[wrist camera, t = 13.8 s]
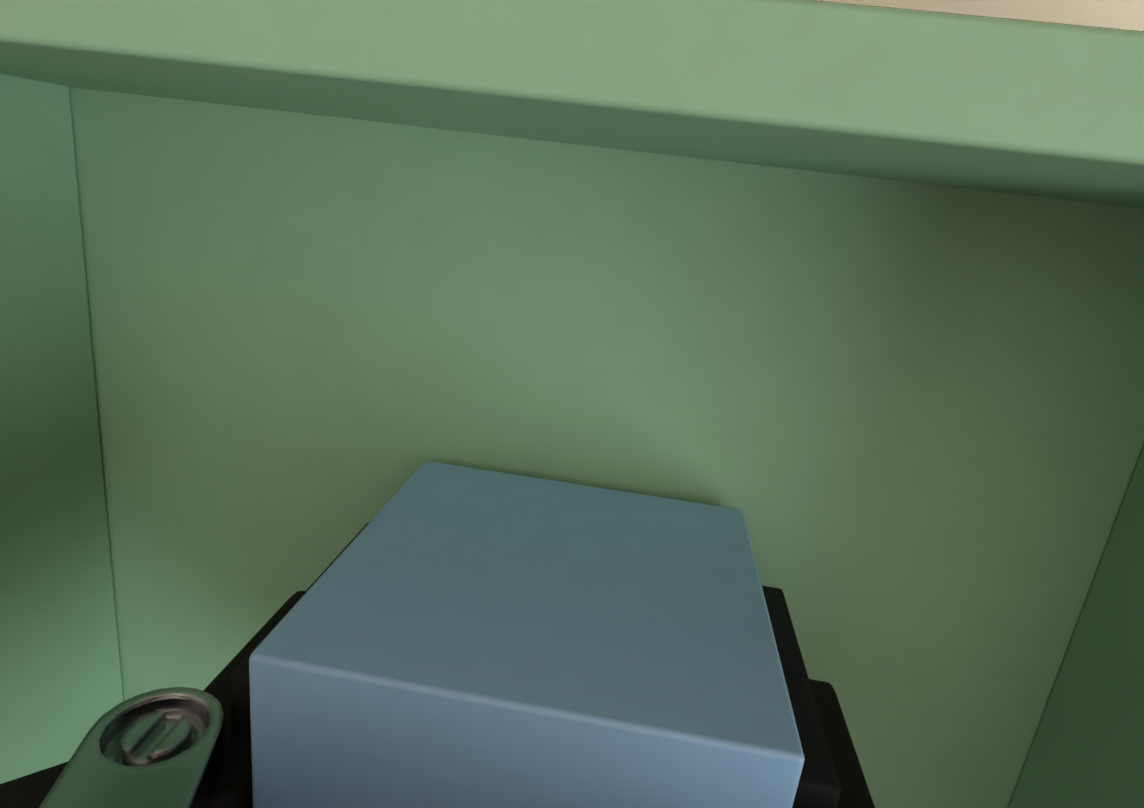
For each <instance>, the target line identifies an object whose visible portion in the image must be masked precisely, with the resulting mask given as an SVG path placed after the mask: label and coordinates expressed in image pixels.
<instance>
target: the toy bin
mask: <svg viewBox="0 0 1144 808" xmlns="http://www.w3.org/2000/svg"><path fill="white" fill-rule="evenodd" d="M425 461H431V462H437V463H444V464H450V465H457V466H463V467H470V468H476V469H483V470H489V471H495V472H502V473H508V474H515V475H521V476H528V477H534V478H541V479H547V480H554V481H560V482H566V483H573V484H579V485H586V486H592V487H599V488H605V489H612V490H618V491H624V492H631V493H637V494H644V495H650V496H657V497H663V498H670V499H676V500H683V501H689V502H695V503H702V504H708V505H715V506H721V507H728V508H734V509H740V510H742V511H743V512H744V516H745V520H746V524H747V528H748V532H749V536H750V540H751V544H752V548H753V552H754V556H755V560H756V564H757V568H758V572H759V577H760V581H761V585H762V586H768V587H774V588H780V589H782V591H783V593H784V597H785V600H786V604H787V607H788V610H789V614H790V617H791V620H792V624H793V627H794V631H795V634H796V637H797V641H798V644H799V648H800V651H801V654H802V658H803V661H804V664H805V668H806V671H807V675H808V678H809V679H812V680H818V681H824V682H828V683H830V684H831V685H832V686H833V688H834V690H835V692H836V695H837V698H838V701H839V704H840V707H841V710H842V713H843V715H844V718H845V721H846V724H847V727H848V730H849V733H850V736H851V739H852V742H853V745H854V748H855V751H856V754H857V756H858V759H859V762H860V765H861V768H862V771H863V774H864V777H865V780H866V783H867V786H868V789H869V792H870V795H871V797H872V800H873V803H874V806H875V808H1144V31H1134V30H1124V29H1113V28H1102V27H1092V26H1081V25H1071V24H1060V23H1049V22H1039V21H1028V20H1017V19H1007V18H996V17H985V16H975V15H964V14H953V13H943V12H932V11H921V10H911V9H900V8H889V7H879V6H868V5H858V4H847V3H836V2H826V1H815V0H0V784H2V783H5V782H8V781H11V780H14V779H17V778H20V777H23V776H26V775H29V774H32V773H35V772H38V771H41V770H44V769H47V768H50V767H53V766H56V765H59V764H62V763H65V762H68V761H69V760H70V759H71V757H72V756H73V754H74V753H75V751H76V749H77V748H78V746H79V745H80V743H81V742H82V740H83V739H84V737H85V736H86V734H87V732H88V731H89V730H90V728H91V727H92V726H93V725H94V724H95V723H96V722H97V720H98V719H99V718H100V717H101V716H102V715H104V714H105V713H106V712H108V711H109V710H111V709H112V708H113V707H115V706H116V705H118V704H119V703H121V702H124V701H126V700H128V699H130V698H132V697H134V696H136V695H139V694H142V693H146V692H149V691H153V690H156V689H162V688H172V687H187V688H197V689H199V690H202V691H203V690H204V689H205V688H206V687H207V686H208V685H209V684H210V683H211V682H212V681H213V680H214V678H215V677H216V676H217V675H218V674H219V673H220V672H221V671H222V670H223V669H224V668H225V667H226V666H227V665H228V663H229V662H230V661H231V660H232V659H233V658H234V657H235V656H236V655H237V654H238V653H239V652H240V651H241V649H242V648H243V647H244V646H245V645H246V644H247V643H248V642H249V641H250V640H251V639H252V638H253V637H254V636H255V634H256V633H257V632H258V631H259V630H260V629H261V628H262V627H263V626H264V625H265V624H266V623H267V622H268V621H269V619H270V618H271V617H272V616H273V615H274V614H275V613H276V612H277V611H278V610H279V609H280V608H281V607H282V605H283V604H284V603H285V602H286V601H287V600H288V599H289V598H290V597H291V596H292V595H293V594H295V593H296V592H297V591H306V590H307V589H308V588H309V587H310V586H311V584H312V583H313V582H314V581H315V580H316V579H317V578H318V577H319V576H320V575H321V573H322V572H323V571H324V570H325V569H326V568H327V567H328V566H329V565H330V564H331V562H332V561H333V560H334V559H335V558H336V557H337V556H338V555H339V554H340V553H341V551H342V550H343V549H344V548H345V547H346V546H347V545H348V544H349V543H350V542H351V540H352V539H353V538H354V537H355V536H356V535H357V534H358V533H359V532H360V530H361V529H362V528H363V527H364V526H365V525H366V524H367V523H368V522H370V521H371V520H372V519H373V518H374V517H375V516H376V515H377V514H378V513H379V511H380V510H381V509H382V508H383V507H384V506H385V505H386V504H387V503H388V501H389V500H390V499H391V498H392V497H393V496H394V495H395V494H396V493H397V492H398V490H399V489H400V488H401V487H402V486H403V485H404V484H405V483H406V482H407V480H408V479H409V478H410V477H411V476H412V475H413V474H414V473H415V472H416V470H417V469H418V468H419V467H420V466H421V465H422V464H423V463H424V462H425Z"/></svg>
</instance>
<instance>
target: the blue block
mask: <svg viewBox="0 0 1144 808" xmlns="http://www.w3.org/2000/svg"><path fill="white" fill-rule="evenodd" d="M249 681H250V717H251V754H252V790H253V808H792V806H793V803H794V799H795V795H796V791H797V787H798V783H799V780H800V776H801V772H802V768H803V764H804V760H805V758H804V754H803V750H802V746H801V742H800V738H799V734H798V730H797V726H796V722H795V718H794V713H793V709H792V705H791V701H790V697H789V693H788V689H787V685H786V681H785V677H784V673H783V669H782V665H781V661H780V657H779V653H778V649H777V645H776V641H775V637H774V633H773V629H772V625H771V621H770V617H769V613H768V609H767V605H766V601H765V597H764V593H763V589H762V585H761V581H760V577H759V572H758V568H757V564H756V560H755V556H754V552H753V548H752V544H751V540H750V536H749V532H748V528H747V524H746V520H745V516H744V512H743V511H742V510H740V509H734V508H728V507H721V506H715V505H708V504H702V503H695V502H689V501H683V500H676V499H670V498H663V497H657V496H650V495H644V494H637V493H631V492H624V491H618V490H612V489H605V488H599V487H592V486H586V485H579V484H573V483H566V482H560V481H554V480H547V479H541V478H534V477H528V476H521V475H515V474H508V473H502V472H495V471H489V470H483V469H476V468H470V467H463V466H457V465H450V464H444V463H437V462H431V461H425V462H424V463H423V464H422V465H421V466H420V467H419V468H418V469H417V470H416V472H415V473H414V474H413V475H412V476H411V477H410V478H409V479H408V480H407V482H406V483H405V484H404V485H403V486H402V487H401V488H400V489H399V490H398V492H397V493H396V494H395V495H394V496H393V497H392V498H391V499H390V500H389V501H388V503H387V504H386V505H385V506H384V507H383V508H382V509H381V510H380V511H379V513H378V514H377V515H376V516H375V517H374V518H373V519H372V520H371V521H370V523H369V524H368V525H367V526H366V527H365V528H364V529H363V530H362V531H361V533H360V534H359V535H358V536H357V537H356V538H355V539H354V540H353V541H352V542H351V544H350V545H349V546H348V547H347V548H346V549H345V550H344V551H343V552H342V554H341V555H340V556H339V557H338V558H337V559H336V560H335V561H334V562H333V564H332V565H331V566H330V567H329V568H328V569H327V570H326V571H325V572H324V574H323V575H322V576H321V577H320V578H319V579H318V580H317V581H316V582H315V583H314V585H313V586H312V587H311V588H310V589H309V590H308V591H307V592H306V593H305V595H304V596H303V597H302V598H301V599H300V600H299V601H298V602H297V603H296V605H295V606H294V607H293V608H292V609H291V610H290V611H289V612H288V613H287V615H286V616H285V617H284V618H283V619H282V620H281V621H280V622H279V623H278V624H277V626H276V627H275V628H274V629H273V630H272V631H271V632H270V633H269V634H268V636H267V637H266V638H265V639H264V640H263V641H262V642H261V643H260V644H259V646H258V647H257V648H256V649H255V650H254V651H253V652H252V654H251V656H250V658H249Z"/></svg>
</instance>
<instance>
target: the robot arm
mask: <svg viewBox="0 0 1144 808" xmlns="http://www.w3.org/2000/svg"><path fill="white" fill-rule="evenodd" d="M369 523H370V522H368V523H367V524H366V525H365V526H364V527H363V528H362V529H361V530H360V532H359V533H358V534H357V535H356V536H355V537H354V538H353V539H352V540H351V542H352V541H353V540H354V539H355V538H356V537H357V536H358V535H359V534H360V533H361V531H362V530H363V529H364V528H365V527H366V526H367V525H368V524H369ZM351 542H350V543H349V544H348V545H347V546H346V547H345V548H344V549H343V550H342V551H341V553H340V554H339V555H338V556H337V557H336V558H335V559H334V560H333V561H332V562H331V564H330V565H329V566H328V567H327V568H326V569H325V570H324V571H323V572H322V573H321V575H320V576H319V577H318V578H317V579H316V580H315V581H314V582H313V583H312V584H311V586H310V587H309V588H308V589H307V590H306V591H297V592H296V593H295V594H293V595H292V596H291V597H290V598H289V599H288V600H287V601H286V602H285V603H284V604H283V605H282V607H281V608H280V609H279V610H278V611H277V612H276V613H275V614H274V615H273V616H272V617H271V618H270V619H269V621H268V622H267V623H266V624H265V625H264V626H263V627H262V628H261V629H260V630H259V631H258V632H257V633H256V634H255V636H254V637H253V638H252V639H251V640H250V641H249V642H248V643H247V644H246V645H245V646H244V647H243V648H242V649H241V651H240V652H239V653H238V654H237V655H236V656H235V657H234V658H233V659H232V660H231V661H230V662H229V663H228V665H227V666H226V667H225V668H224V669H223V670H222V671H221V672H220V673H219V674H218V675H217V676H216V677H215V678H214V680H213V681H212V682H211V683H210V684H209V685H208V686H207V687H206V688H205V689H204V690H203V691H202V690H199V689H197V688H187V687H172V688H162V689H156V690H153V691H149V692H146V693H142V694H139V695H136V696H134V697H132V698H130V699H128V700H126V701H124V702H121V703H119V704H118V705H116V706H115V707H113V708H112V709H111V710H109V711H108V712H106V713H105V714H104V715H102V716H101V717H100V718H99V719H98V720H97V722H96V723H95V724H94V725H93V726H92V727H91V728H90V730H89V731H88V732H87V734H86V736H85V737H84V739H83V740H82V742H81V743H80V745H79V746H78V748H77V749H76V751H75V753H74V754H73V756H72V757H71V759H70V760H69V761H68V762H65V763H62V764H59V765H56V766H53V767H50V768H47V769H44V770H41V771H38V772H35V773H32V774H29V775H26V776H23V777H20V778H17V779H14V780H11V781H8V782H5V783H2V784H0V808H253V790H252V754H251V717H250V681H249V658H250V656H251V654H252V652H253V651H254V650H255V649H256V648H257V647H258V646H259V644H260V643H261V642H262V641H263V640H264V639H265V638H266V637H267V636H268V634H269V633H270V632H271V631H272V630H273V629H274V628H275V627H276V626H277V624H278V623H279V622H280V621H281V620H282V619H283V618H284V617H285V616H286V615H287V613H288V612H289V611H290V610H291V609H292V608H293V607H294V606H295V605H296V603H297V602H298V601H299V600H300V599H301V598H302V597H303V596H304V595H305V593H306V592H307V591H308V590H309V589H310V588H311V587H312V586H313V585H314V583H315V582H316V581H317V580H318V579H319V578H320V577H321V576H322V575H323V574H324V572H325V571H326V570H327V569H328V568H329V567H330V566H331V565H332V564H333V562H334V561H335V560H336V559H337V558H338V557H339V556H340V555H341V554H342V552H343V551H344V550H345V549H346V548H347V547H348V546H349V545H350V544H351ZM762 589H763V593H764V597H765V601H766V605H767V609H768V613H769V617H770V621H771V625H772V629H773V633H774V637H775V641H776V645H777V649H778V653H779V657H780V661H781V665H782V669H783V673H784V677H785V681H786V685H787V689H788V693H789V697H790V701H791V705H792V709H793V713H794V718H795V722H796V726H797V730H798V734H799V738H800V742H801V746H802V750H803V754H804V758H805V760H804V764H803V768H802V772H801V776H800V780H799V783H798V787H797V791H796V795H795V799H794V803H793V806H792V808H875V806H874V803H873V800H872V797H871V795H870V792H869V789H868V786H867V783H866V780H865V777H864V774H863V771H862V768H861V765H860V762H859V759H858V756H857V754H856V751H855V748H854V745H853V742H852V739H851V736H850V733H849V730H848V727H847V724H846V721H845V718H844V715H843V713H842V710H841V707H840V704H839V701H838V698H837V695H836V692H835V690H834V688H833V686H832V685H831V684H830V683H828V682H824V681H818V680H812V679H809V678H808V675H807V671H806V668H805V664H804V661H803V658H802V654H801V651H800V648H799V644H798V641H797V637H796V634H795V631H794V627H793V624H792V620H791V617H790V614H789V610H788V607H787V604H786V600H785V597H784V593H783V591H782V589H780V588H774V587H768V586H762Z"/></svg>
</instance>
